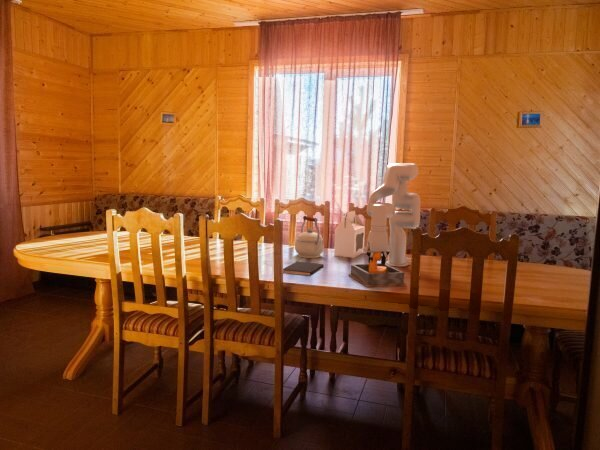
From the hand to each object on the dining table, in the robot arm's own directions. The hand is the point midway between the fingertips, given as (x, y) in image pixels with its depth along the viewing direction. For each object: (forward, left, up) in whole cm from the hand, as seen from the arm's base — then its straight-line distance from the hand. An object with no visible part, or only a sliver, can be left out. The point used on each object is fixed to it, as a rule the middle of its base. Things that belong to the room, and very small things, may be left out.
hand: (376, 264), depth 233 cm
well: (0, 0, -8) cm, 8 cm away
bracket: (-1, 0, -5) cm, 5 cm away
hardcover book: (+29, -30, -9) cm, 43 cm away
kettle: (+14, -65, -9) cm, 67 cm away
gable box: (-14, -69, -9) cm, 71 cm away
